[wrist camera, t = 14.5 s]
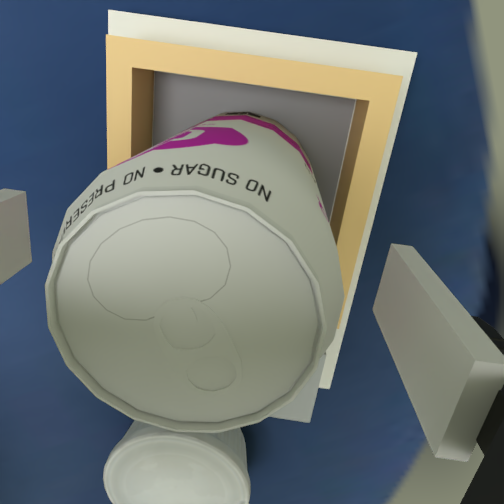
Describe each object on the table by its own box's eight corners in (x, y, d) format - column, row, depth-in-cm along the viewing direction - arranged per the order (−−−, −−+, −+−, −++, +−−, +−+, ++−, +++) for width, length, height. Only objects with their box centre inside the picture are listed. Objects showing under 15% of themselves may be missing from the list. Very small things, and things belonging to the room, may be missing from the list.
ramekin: (203, 498, 38) (191, 559, 33) (102, 436, 36) (74, 492, 31) (282, 433, 34) (281, 492, 29) (174, 360, 32) (154, 409, 27)
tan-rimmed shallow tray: (326, 371, 31) (337, 446, 25) (121, 339, 32) (79, 405, 25) (406, 54, 23) (454, 44, 16) (122, 15, 23) (58, -11, 16)
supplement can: (147, 145, 23) (-48, 240, 10) (282, 85, 22) (280, 96, 8) (207, 265, 26) (121, 474, 12) (331, 221, 24) (393, 407, 11)
